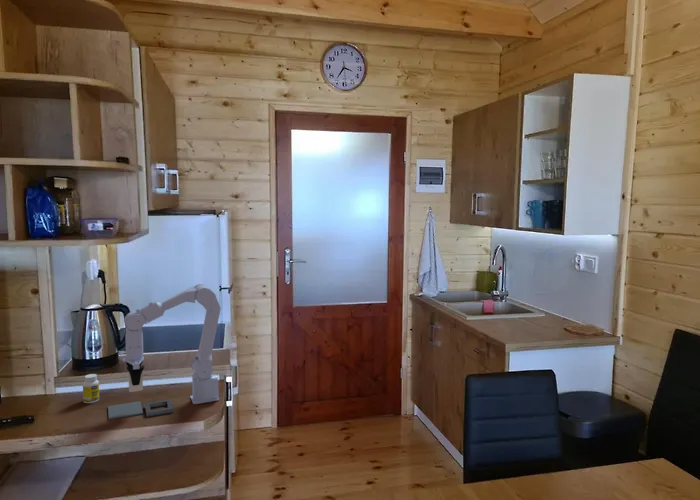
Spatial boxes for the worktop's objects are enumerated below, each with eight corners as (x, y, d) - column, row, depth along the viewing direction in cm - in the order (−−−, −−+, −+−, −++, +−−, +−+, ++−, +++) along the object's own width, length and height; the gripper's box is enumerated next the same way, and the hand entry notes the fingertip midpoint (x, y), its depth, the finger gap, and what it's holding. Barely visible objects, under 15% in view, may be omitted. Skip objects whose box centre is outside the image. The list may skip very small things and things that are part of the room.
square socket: (170, 402, 186) (170, 399, 186) (173, 412, 178) (173, 408, 178) (144, 407, 182) (144, 403, 182) (146, 417, 174) (146, 412, 174)
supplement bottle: (92, 404, 184) (91, 378, 183) (80, 402, 185) (78, 377, 184) (102, 398, 189) (101, 373, 188) (90, 397, 190) (89, 372, 189)
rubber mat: (140, 402, 186) (140, 401, 186) (143, 414, 176) (142, 412, 176) (108, 407, 181) (108, 406, 181) (108, 419, 171) (108, 418, 171)
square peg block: (141, 386, 181) (141, 367, 180) (142, 390, 177) (142, 371, 176) (128, 387, 179) (128, 369, 178) (129, 392, 175) (129, 373, 174)
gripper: (121, 341, 181) (122, 377, 182) (123, 352, 168) (124, 391, 170) (142, 339, 184) (142, 374, 186) (145, 350, 171) (146, 388, 173)
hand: (135, 382), depth 178 cm, fingers closed on square peg block, 4 cm apart
